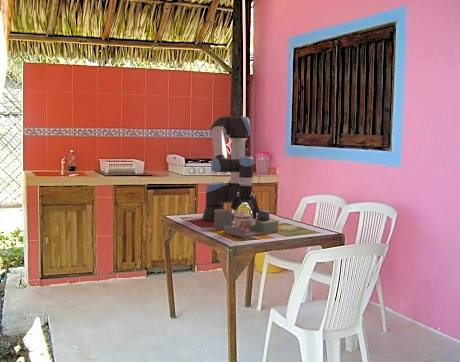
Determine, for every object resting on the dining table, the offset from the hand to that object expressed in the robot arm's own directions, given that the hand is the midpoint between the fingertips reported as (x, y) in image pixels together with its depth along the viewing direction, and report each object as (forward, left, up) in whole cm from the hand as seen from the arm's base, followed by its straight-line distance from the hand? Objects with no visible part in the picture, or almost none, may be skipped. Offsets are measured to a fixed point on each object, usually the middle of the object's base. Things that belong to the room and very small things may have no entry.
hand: (244, 223), depth 306 cm
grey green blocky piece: (0, +6, -6) cm, 8 cm away
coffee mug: (-19, +3, -6) cm, 20 cm away
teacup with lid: (0, 0, -5) cm, 5 cm away
